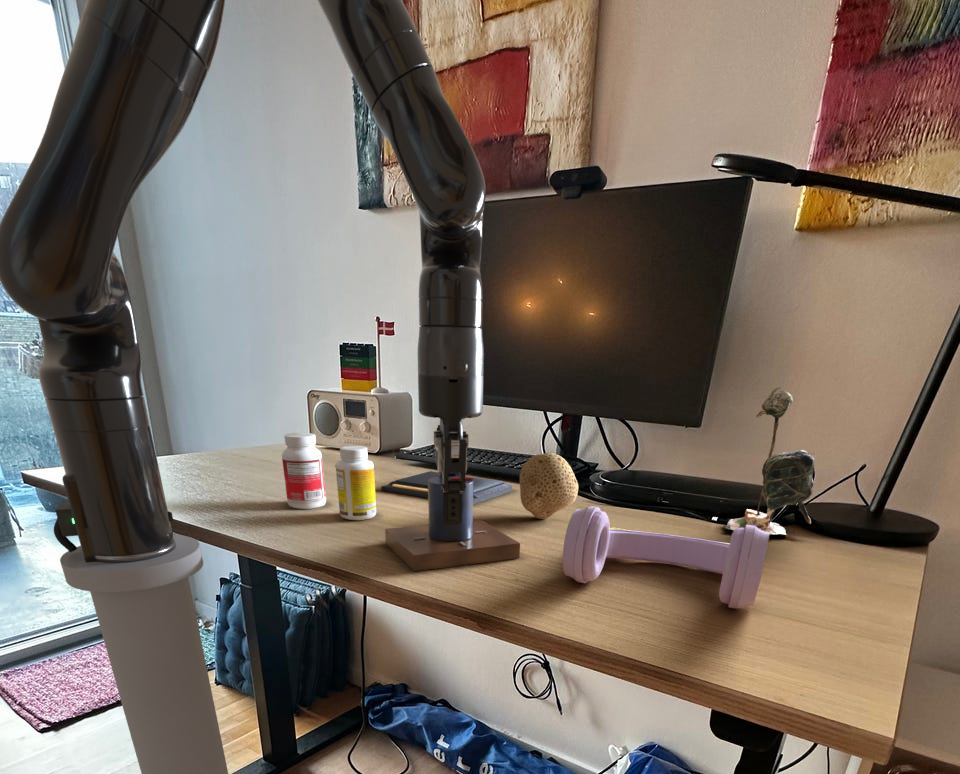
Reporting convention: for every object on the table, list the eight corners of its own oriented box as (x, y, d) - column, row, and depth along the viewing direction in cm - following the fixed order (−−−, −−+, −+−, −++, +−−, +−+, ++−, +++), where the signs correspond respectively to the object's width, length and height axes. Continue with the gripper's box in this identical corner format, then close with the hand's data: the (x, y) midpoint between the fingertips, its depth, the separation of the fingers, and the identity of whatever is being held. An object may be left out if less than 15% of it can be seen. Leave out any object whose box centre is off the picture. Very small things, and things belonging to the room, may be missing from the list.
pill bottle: (299, 499, 102) (292, 431, 97) (333, 502, 101) (327, 433, 96) (280, 507, 96) (271, 436, 92) (315, 511, 95) (308, 438, 90)
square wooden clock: (414, 571, 71) (413, 553, 70) (385, 543, 80) (384, 527, 79) (519, 558, 76) (520, 541, 75) (480, 533, 86) (481, 518, 85)
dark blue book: (515, 480, 111) (470, 494, 99) (515, 490, 112) (470, 506, 100) (429, 468, 121) (378, 479, 109) (429, 477, 121) (379, 490, 110)
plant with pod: (800, 546, 83) (841, 390, 75) (717, 531, 89) (746, 386, 80) (810, 533, 90) (849, 388, 81) (731, 520, 95) (760, 384, 87)
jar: (430, 542, 74) (429, 482, 71) (427, 529, 79) (426, 473, 76) (474, 541, 75) (476, 482, 72) (469, 529, 80) (470, 473, 77)
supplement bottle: (382, 514, 94) (379, 446, 90) (365, 522, 89) (360, 451, 85) (351, 510, 96) (346, 444, 91) (332, 518, 91) (326, 448, 87)
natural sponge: (578, 514, 97) (584, 450, 92) (570, 528, 89) (577, 459, 85) (523, 509, 99) (526, 446, 94) (511, 523, 91) (514, 455, 87)
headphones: (562, 520, 62) (609, 466, 78) (559, 603, 68) (603, 537, 83) (768, 547, 55) (775, 482, 70) (746, 637, 61) (757, 558, 76)
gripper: (416, 368, 75) (419, 503, 82) (419, 374, 62) (423, 533, 69) (476, 369, 76) (473, 503, 83) (491, 375, 63) (487, 532, 70)
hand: (450, 516), depth 76 cm, fingers closed on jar, 5 cm apart
